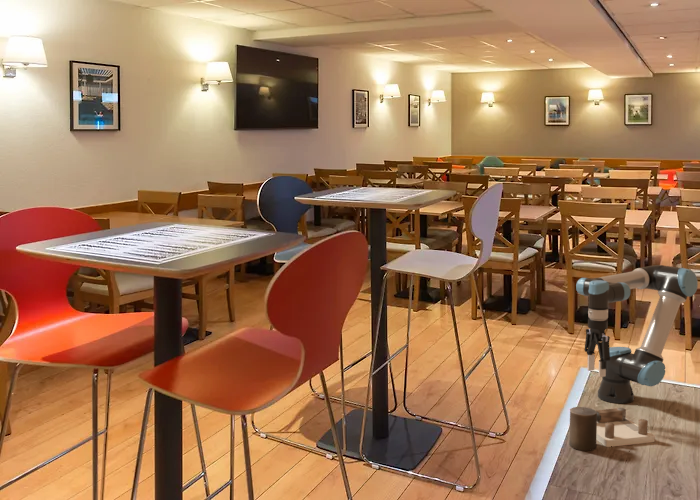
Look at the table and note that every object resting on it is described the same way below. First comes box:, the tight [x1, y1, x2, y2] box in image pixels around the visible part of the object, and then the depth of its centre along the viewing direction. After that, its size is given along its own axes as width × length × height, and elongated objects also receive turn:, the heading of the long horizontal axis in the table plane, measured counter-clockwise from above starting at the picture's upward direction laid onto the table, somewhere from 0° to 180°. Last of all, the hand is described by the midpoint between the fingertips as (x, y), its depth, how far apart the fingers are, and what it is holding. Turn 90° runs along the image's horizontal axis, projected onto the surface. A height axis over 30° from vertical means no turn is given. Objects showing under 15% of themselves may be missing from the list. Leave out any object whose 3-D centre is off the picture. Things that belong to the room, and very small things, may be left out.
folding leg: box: [595, 407, 627, 423], centre depth 264 cm, size 13×4×4 cm, turn 101°
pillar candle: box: [568, 406, 597, 452], centre depth 247 cm, size 10×10×15 cm
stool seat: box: [596, 417, 656, 448], centre depth 257 cm, size 20×20×8 cm
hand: (596, 373), depth 269 cm, fingers open, 8 cm apart
